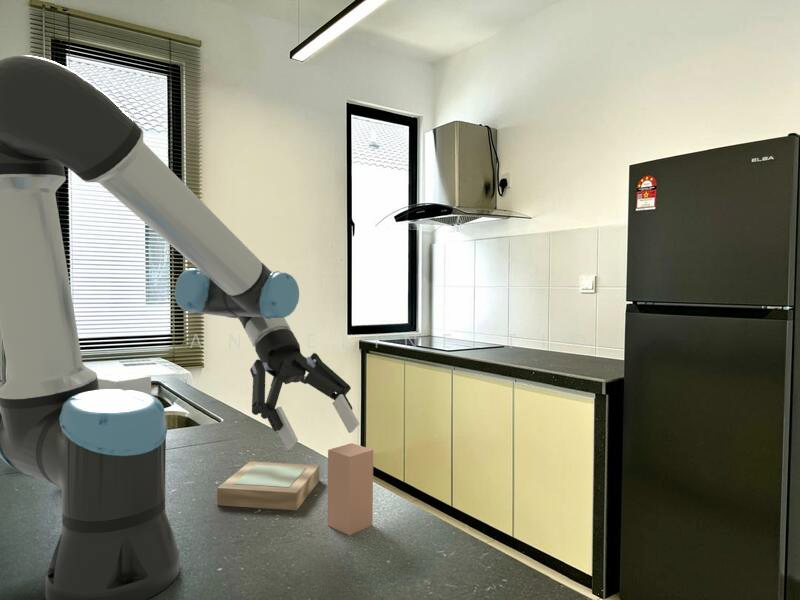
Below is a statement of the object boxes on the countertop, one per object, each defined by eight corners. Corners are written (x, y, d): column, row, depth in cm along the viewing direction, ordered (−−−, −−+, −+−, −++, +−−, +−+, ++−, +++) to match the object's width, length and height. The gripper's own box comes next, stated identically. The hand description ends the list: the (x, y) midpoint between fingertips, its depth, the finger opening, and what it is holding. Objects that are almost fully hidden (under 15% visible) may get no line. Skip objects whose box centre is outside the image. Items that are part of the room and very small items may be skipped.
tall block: (349, 535, 83) (349, 456, 82) (327, 525, 86) (328, 449, 86) (372, 524, 86) (373, 449, 86) (350, 515, 90) (351, 443, 89)
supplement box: (152, 437, 133) (152, 376, 133) (117, 446, 126) (116, 381, 125) (130, 431, 138) (130, 372, 138) (95, 439, 131) (95, 377, 130)
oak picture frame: (296, 510, 91) (296, 492, 91) (217, 505, 93) (217, 487, 93) (319, 480, 105) (319, 464, 105) (249, 476, 107) (249, 460, 107)
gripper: (316, 346, 113) (366, 433, 104) (203, 359, 94) (252, 466, 85) (333, 323, 109) (387, 411, 100) (219, 330, 91) (272, 439, 81)
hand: (325, 436), depth 92 cm, fingers open, 13 cm apart
